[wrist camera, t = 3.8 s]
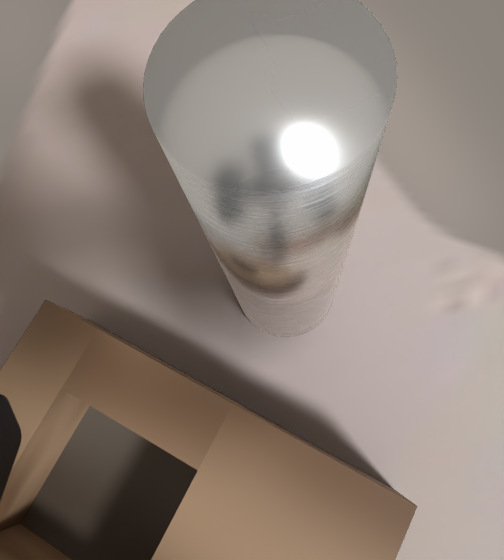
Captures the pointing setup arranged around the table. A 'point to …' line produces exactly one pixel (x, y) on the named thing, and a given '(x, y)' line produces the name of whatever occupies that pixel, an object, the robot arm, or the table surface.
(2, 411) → the robot arm
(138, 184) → the table surface
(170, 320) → the table surface
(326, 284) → the aluminium peg
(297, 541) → the pocket board
